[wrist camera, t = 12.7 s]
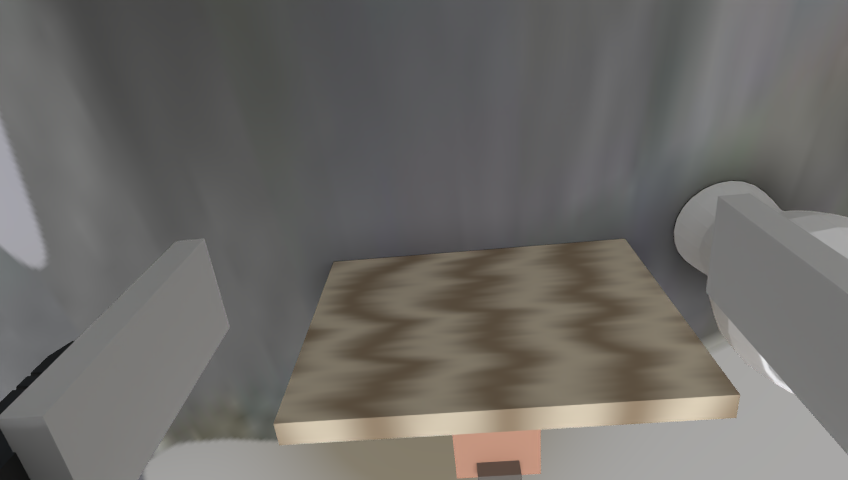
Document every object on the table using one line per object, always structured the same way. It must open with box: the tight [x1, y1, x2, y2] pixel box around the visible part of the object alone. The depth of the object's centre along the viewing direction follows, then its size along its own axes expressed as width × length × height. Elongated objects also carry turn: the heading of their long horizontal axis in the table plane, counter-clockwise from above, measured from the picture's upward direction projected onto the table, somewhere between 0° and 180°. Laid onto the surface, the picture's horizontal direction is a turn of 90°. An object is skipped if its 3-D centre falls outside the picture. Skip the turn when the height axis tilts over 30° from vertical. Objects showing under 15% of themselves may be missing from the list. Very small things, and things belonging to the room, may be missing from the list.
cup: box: [674, 181, 848, 393], centre depth 38 cm, size 11×11×15 cm
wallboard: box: [274, 239, 740, 445], centre depth 39 cm, size 24×5×19 cm, turn 96°
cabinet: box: [453, 430, 541, 480], centre depth 41 cm, size 6×10×9 cm, turn 5°
